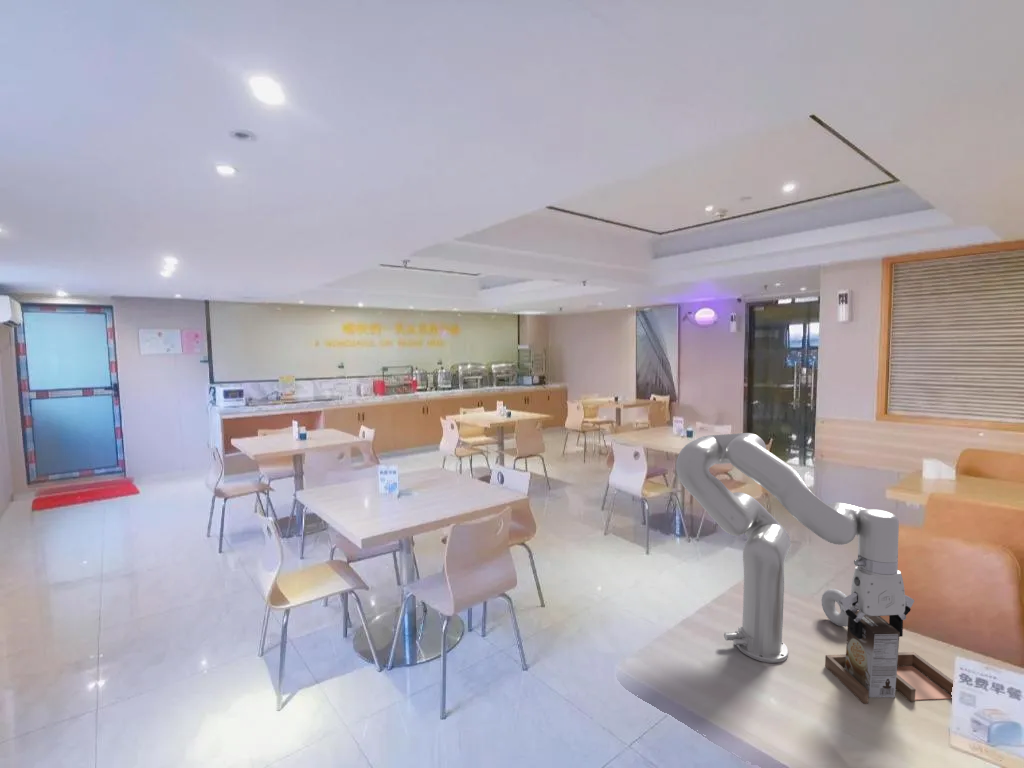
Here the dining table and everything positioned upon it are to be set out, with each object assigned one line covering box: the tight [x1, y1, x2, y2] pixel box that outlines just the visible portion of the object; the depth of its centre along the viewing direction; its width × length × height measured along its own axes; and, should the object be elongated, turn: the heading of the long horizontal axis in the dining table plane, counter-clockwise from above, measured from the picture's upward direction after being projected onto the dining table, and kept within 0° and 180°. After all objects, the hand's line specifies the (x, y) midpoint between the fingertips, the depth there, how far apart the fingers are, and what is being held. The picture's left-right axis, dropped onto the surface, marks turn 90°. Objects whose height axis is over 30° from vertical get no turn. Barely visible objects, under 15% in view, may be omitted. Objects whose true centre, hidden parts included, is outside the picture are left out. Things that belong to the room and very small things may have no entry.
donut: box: [821, 588, 852, 627], centre depth 143 cm, size 10×4×10 cm, turn 12°
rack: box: [824, 651, 954, 705], centre depth 119 cm, size 23×13×3 cm, turn 93°
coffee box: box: [844, 610, 900, 698], centre depth 118 cm, size 9×6×16 cm
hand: (875, 634), depth 117 cm, fingers open, 9 cm apart
